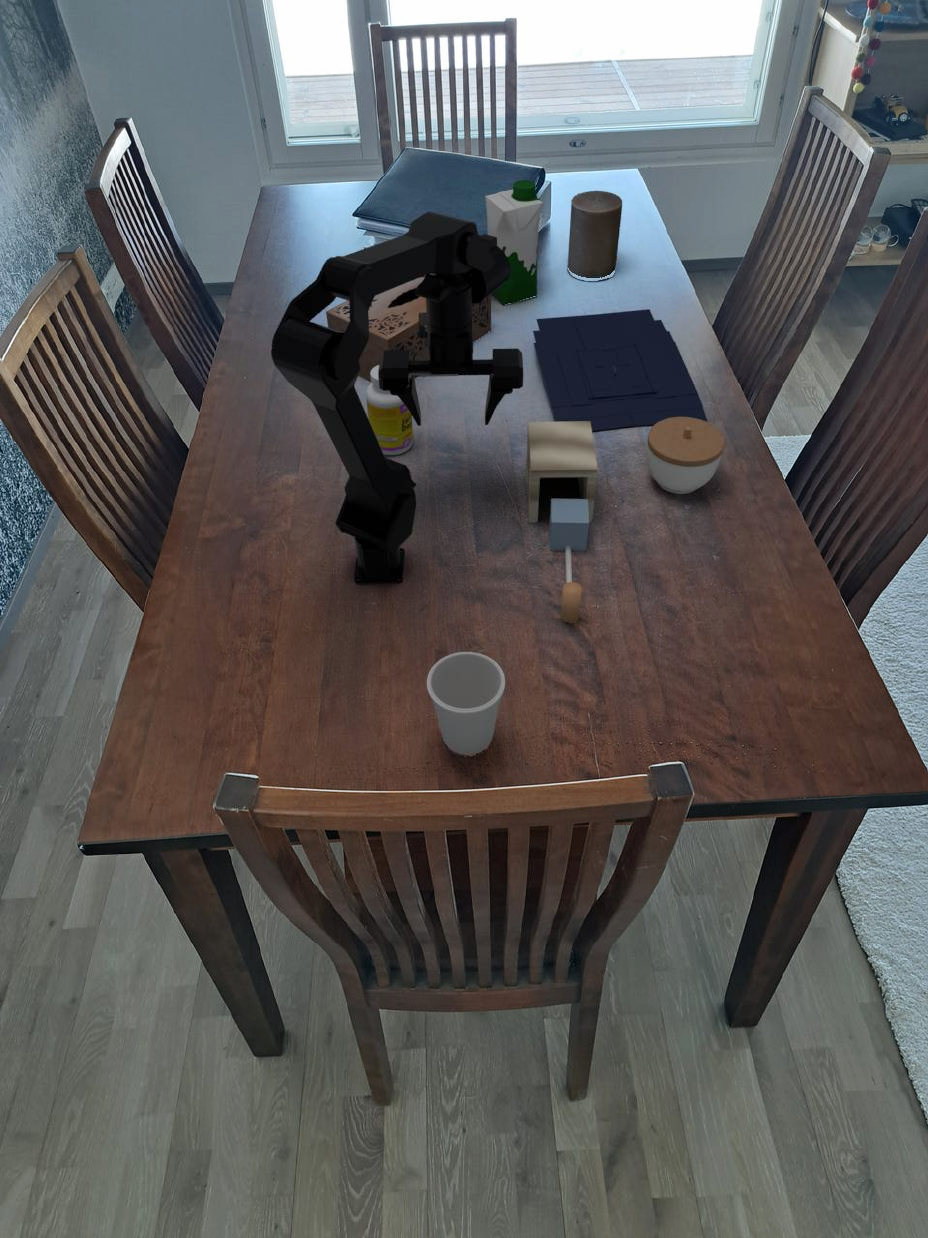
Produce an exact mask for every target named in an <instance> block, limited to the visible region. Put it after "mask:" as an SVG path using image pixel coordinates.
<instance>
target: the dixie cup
mask: <svg viewBox="0 0 928 1238" xmlns="http://www.w3.org/2000/svg"><path fill="white" fill-rule="evenodd" d="M426 689H427V691H428V692H427V693H428V694H429V696H430V698H431V701H432V703H433V707H434V711H435V715H436V717H437V721H438V725H439V730H440V732H441V736H442V740H443V743H444V742H445V743H444V745H445V744H446V745H447V746H448V747H449V748H450V749H451V750H453V751H455V752H457V753H460V754H466V755H470V754H476V753H479V752H481V751H482V750H484V749H485V748H486V747H488V745H489V744H490V742H491V741H493V738H494V733H495V729H496V728H495V727H496V723H497V717H498V712H499V709H500V708H499V707H500V703H501V699H502V695H504V694H503V693H504V691H505V689H506V677H505V674H504V671H503V669H502V668H501V666H500V665H499V664H498V663H497V662H496V661H495V660H494V659H493V658H490V657H489V656H487V655H485V654H482V653H480V652H474V651H458V652H454V653H451V654H449V655H446V656H444V657H441V659H439V660H438V661H437V662H436V663H435V664H434V665H432V667H431V669H430V670H429V672H428V675H427V678H426ZM491 743H492V742H491ZM446 745H445V746H446ZM490 745H491V744H490ZM488 748H489V747H488Z"/></svg>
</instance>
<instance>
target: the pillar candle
mask: <svg viewBox="0 0 928 1238" xmlns="http://www.w3.org/2000/svg"><path fill="white" fill-rule="evenodd" d="M622 211H623V200H622V198H621V196H619V195H617V194H616V193H613V192H611V191H604V190H588V191H584V192H579V193H577V194H575V195H573V197H572V199H571V205H570V223H569V236H568V237H569V238H568V239H569V240H568V251H567V252H568V253H567V267H568V268H569V270H570V271H571V272H572V273H574V274H576V275H578V276H581V277H586V278H600V277H601V278H602V277H605V276H607V275H610V274H611V273H612V272H613V271H614V270H615V268H616V269H617V267H616V266H617V261H618V248H619V241H620V240H619V239H620V231H621V229H620V228H621V221H622Z"/></svg>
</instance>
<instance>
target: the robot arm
mask: <svg viewBox="0 0 928 1238" xmlns="http://www.w3.org/2000/svg"><path fill="white" fill-rule="evenodd" d="M477 227H478V225H477V223H476V222H474V221H472V220H471V221H470V220H467V219H463V218H459V217H455V216H451V215H447V214H444V213H443V214H442V213H438V212H436V211H435V212H434V211H427V212H425V213H423V214H422V215H420V216H418V217H417V218H416V219H414V220H413V221H411V223H409V226H408V230H407V232H406V233H404V234H402V235H400V236H397V237H394V238H390V239H389V240H385V241H382V242H381V243H378V244H377V243H376V244H374V245H372V246H369V247H366V248H363V249H360V250H358V251H354V252H351V253H348V254H346V255H336V256H330V257H329V258H328V259H326V260H325V262H324V263H323V264H322V267H321V269H320V270H319V273H318V274H317V277H316V279H315V280H314V281H313V282H312V283H311V284H309V285H308V286H307V287H305V289H304V290H302V291H301V292H300V293H299V294H297V295H296V296H295V297H293V298H292V300H291V301H289V304H288V305H287V308H286V310H285V311H284V314H283V316H282V317H281V320H280V321H279V323H278V326H277V328H276V330H275V332H274V335H273V337H272V340H271V350H270V352H271V354H270V355H271V359H272V363H273V364H274V366H275V368H276V369H277V370H278V371H279V372H280V374H281V375H282V376H283V378H284V379H285V380H286V381H287V382H288V384H290V385H291V386H293V388H295V389H297V390H298V391H299V392H300V393H301V394H302V395H304V396H305V397H307V399H309V400H310V401H311V403H312V405H313V406H314V408H315V411H316V412H317V414H318V417H319V418H320V420H321V423H322V425H323V426H324V429H325V430H326V432H327V434H328V436H329V439H330V440H331V442H332V444H333V446H334V448H335V449H336V452H337V454H338V456H339V458H340V460H341V462H342V463H343V466H344V468H345V470H346V472H347V474H348V478H347V481H346V483H345V485H344V493H345V496H344V500H343V501H342V504H341V507H340V510H339V513H338V515H337V518H336V519H335V520H336V521H335V526H336V528H337V529H338V531H339V532H340V533H344V534H347V535H349V536H351V537H353V539H354V544H355V551H356V560H355V567H354V576H353V582H354V583H355V584H358V585H359V584H360V585H361V584H363V585H364V584H367V585H368V584H401V583H402V582H403V581H404V569H405V556H406V550H405V548H403V547H401V545H403V544H404V542H405V541H406V540H407V539H408V538H410V536H411V535H412V534H413V530H414V529H413V527H414V521H415V516H416V515H415V514H416V509H417V498H416V497H417V496H416V492H415V489H414V488H415V487H416V486H417V483H416V482H414V480H413V479H412V478H413V477H412V476H411V471H410V468H409V467H408V466H407V465H406V464H403V463H401V462H398V461H396V460H393V459H391V458H388V457H386V455H384V454H383V452H382V449H381V447H380V445H379V442H378V440H377V438H376V436H375V433H374V431H373V429H372V426H371V424H370V422H369V419H368V414H367V413H366V410H365V408H364V406H363V404H362V401H361V399H360V397H359V394H358V392H357V389H356V387H355V384H356V383H357V380H358V377H359V376H358V375H359V373H360V370H361V369H360V364H359V359H360V357H361V355H362V353H363V351H364V349H365V347H366V344H367V342H368V340H369V315H368V310H369V307H370V305H371V303H372V301H373V299H374V297H375V296H376V295H379V294H381V293H383V292H386V291H388V290H391V289H393V288H395V287H398V286H400V285H403V284H405V283H407V282H410V281H412V280H415V279H417V278H419V277H422V276H424V275H425V278H424V280H423V281H422V282H421V283H420V284H419V285H418V287H417V289H416V291H415V294H416V295H417V296H420V297H423V298H426V312H422V313H419V338H420V339H428V352H429V360H427V361H411V354H410V350H384V351H383V353H382V354H381V355H380V362H379V370H378V379H379V388H380V389H382V390H383V391H390V394H391V395H396V396H398V397H399V398H400V399H401V401H402V402H403V403H404V404H405V405H406V407H407V408H408V410H409V411H410V413H411V415H412V419H413V420H414V422H415V423H416V425H417V426H418V427H420V426H422V412H421V405H420V401H419V397H418V391H417V385H416V378H415V377H417V378H418V377H421V378H424V377H432V378H433V377H436V378H437V377H459V376H489V378H488V387H487V394H486V402H485V408H484V425H485V426H488V425H489V423H490V422H491V419H492V417H493V415H494V413H495V412H496V411H495V410H496V408H497V407H498V405H499V404H500V403H501V401H502V399H503V398H504V397H505V396H506V395H511V394H513V392H514V390H520V389H521V388H523V387H524V363H523V362H524V361H523V360H524V359H523V357H524V356H523V352H522V351H521V350H520V349H519V348H518V347H517V348H492V356H491V357H492V358H489V359H487V358H486V359H485V358H484V359H483V358H482V359H477V358H476V359H474V343H473V332H472V303H479V302H481V301H483V300H484V299H485V298H486V297H488V296H489V295H490V294H491V293H493V292H494V291H495V290H496V289H498V288H499V287H500V286H501V285H503V284H504V283H505V282H506V281H507V280H508V278H509V276H510V271H511V266H510V264H509V261H508V259H507V257H506V255H505V253H504V252H503V250H501V249H500V248H499V247H498V246H497V237H494V236H490V235H488V234H486V233H483V234H482V235H480V234H479V232H478V228H477ZM431 274H432V275H431ZM491 295H492V294H491ZM336 298H338V299H342V300H345V301H347V300H348V301H349V305H350V322H349V325H348V327H347V329H346V331H345V333H343V332H340V331H337V330H334V329H331V328H328V326H325V325H322V324H319V323H315V322H313V321H312V320H313V319H314V318H315V317H317V316H318V315H319V314H321V312H323V311H324V310H325V309H326V308H327V307H328V306H330V305H331V304H332V303H333V302H334V301H335V300H336Z"/></svg>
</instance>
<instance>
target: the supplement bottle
mask: <svg viewBox="0 0 928 1238" xmlns="http://www.w3.org/2000/svg"><path fill="white" fill-rule="evenodd" d="M378 370H379V365H378V366H375V367H374V368H373V369H372V370H371V372H370V376H371V382H370V383H369V385H368V387H367V388H366V390H365V398H366V408H367V417H368V419H369V422H370V424H371V426H372V429H373V431H374V433H375V436H376V438H377V440H378V442H379V445H380V447H381V449H382V452H383V454H384V456H398V455H402V454H404V453H406V452H407V451H409V450H410V449H411V448H412V446H413V444H414V429H413V416H412V415H411V413H410V411H409V410H408V408H407V407H406V405H405V404H404V403H403V402H402V401H401V399H400V398H399V397H398V396H396V395H391V394H390V391H383V390H382V389H380V388H379V379H378Z"/></svg>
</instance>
